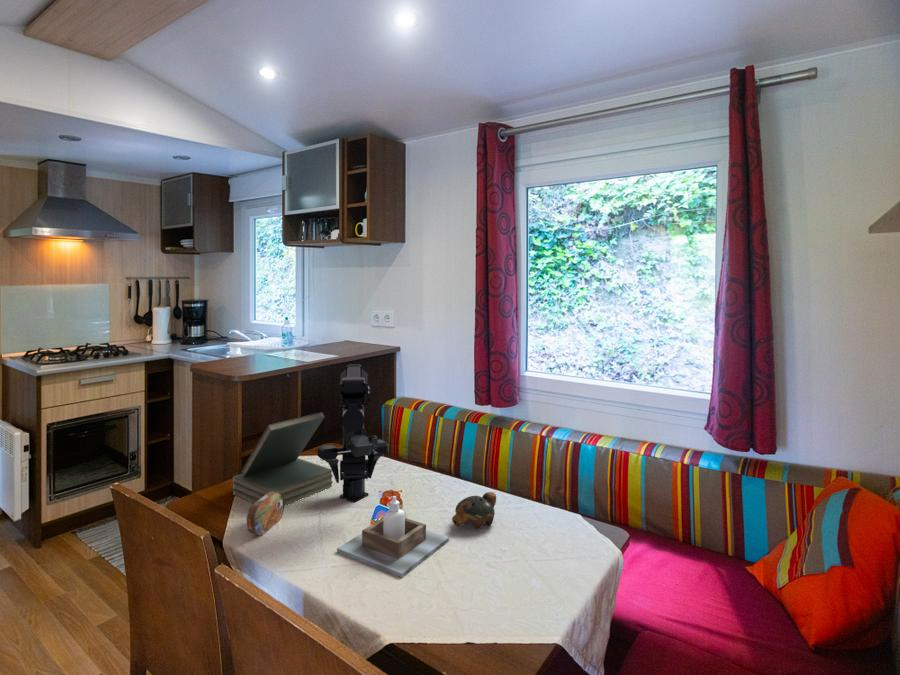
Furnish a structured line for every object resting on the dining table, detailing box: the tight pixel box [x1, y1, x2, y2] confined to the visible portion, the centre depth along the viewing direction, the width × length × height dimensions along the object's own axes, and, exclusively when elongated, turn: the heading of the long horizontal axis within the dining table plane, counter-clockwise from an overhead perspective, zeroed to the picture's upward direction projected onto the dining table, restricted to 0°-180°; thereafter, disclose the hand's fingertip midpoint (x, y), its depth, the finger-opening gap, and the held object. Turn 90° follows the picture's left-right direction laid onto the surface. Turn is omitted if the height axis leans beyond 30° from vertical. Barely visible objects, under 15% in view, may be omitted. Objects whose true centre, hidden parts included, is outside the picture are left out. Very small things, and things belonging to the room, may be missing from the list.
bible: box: [232, 411, 334, 507], centre depth 162 cm, size 23×20×25 cm
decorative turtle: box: [451, 491, 497, 530], centre depth 143 cm, size 10×15×8 cm, turn 135°
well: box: [336, 517, 450, 578], centre depth 130 cm, size 20×20×5 cm
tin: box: [246, 491, 285, 536], centre depth 139 cm, size 15×3×8 cm, turn 168°
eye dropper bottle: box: [383, 495, 406, 540], centre depth 130 cm, size 4×6×12 cm
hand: (353, 480), depth 144 cm, fingers open, 9 cm apart
